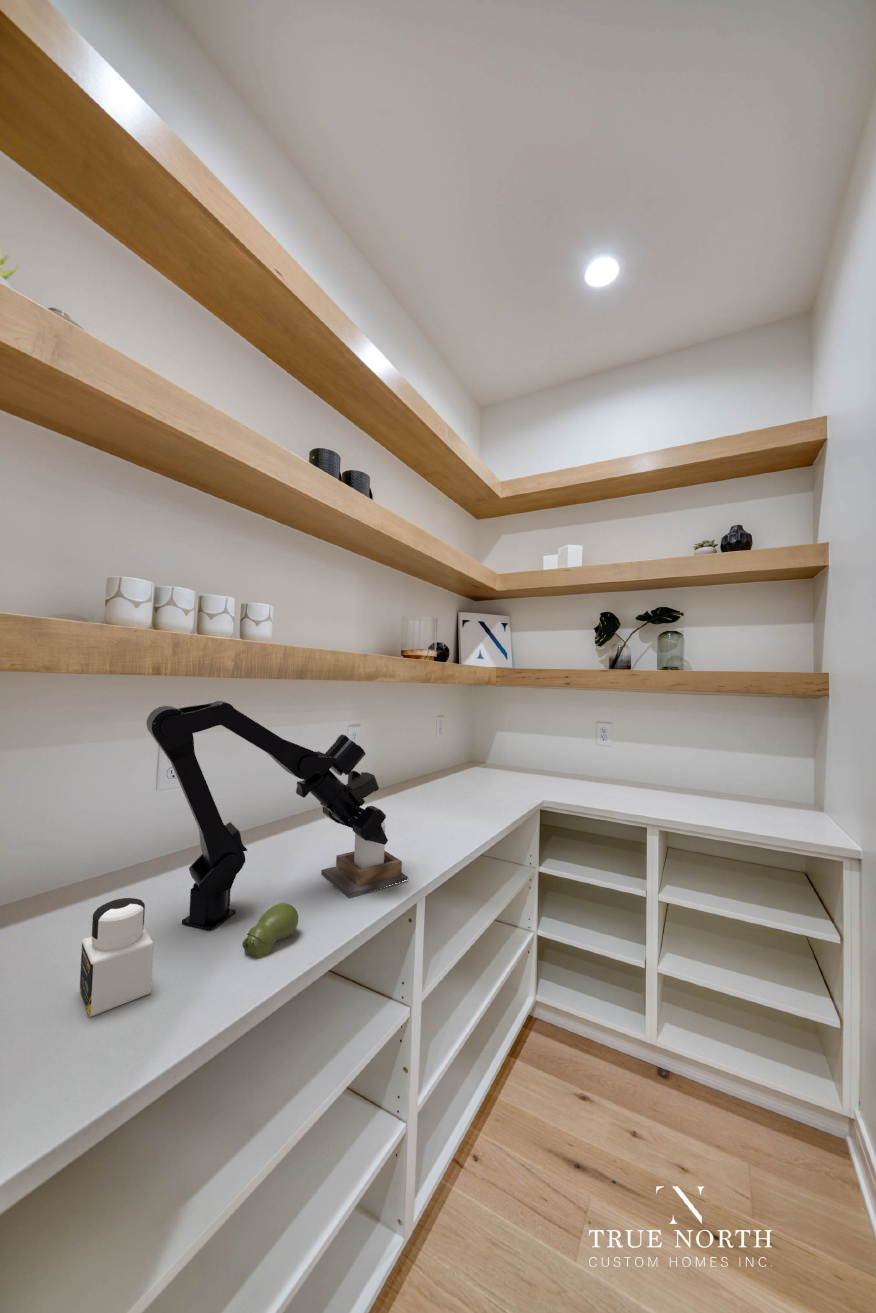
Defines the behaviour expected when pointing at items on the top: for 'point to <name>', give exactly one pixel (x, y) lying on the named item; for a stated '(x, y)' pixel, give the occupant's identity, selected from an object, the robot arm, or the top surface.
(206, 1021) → the top surface
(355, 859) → the can
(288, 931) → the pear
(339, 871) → the socket holder
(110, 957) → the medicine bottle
